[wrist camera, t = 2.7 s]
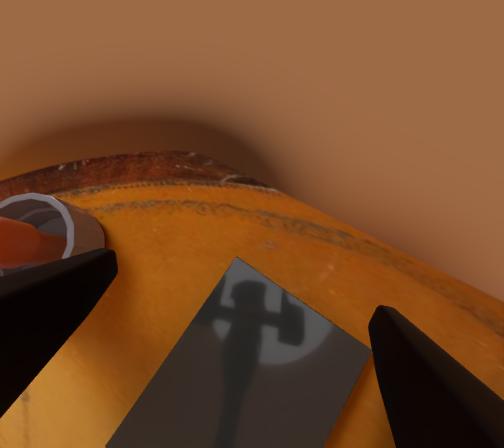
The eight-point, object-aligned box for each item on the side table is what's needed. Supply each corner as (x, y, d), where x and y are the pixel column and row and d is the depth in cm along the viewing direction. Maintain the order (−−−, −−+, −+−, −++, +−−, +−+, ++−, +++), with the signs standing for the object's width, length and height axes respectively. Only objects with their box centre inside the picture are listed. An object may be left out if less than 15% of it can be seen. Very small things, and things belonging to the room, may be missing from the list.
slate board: (252, 568, 17) (251, 590, 15) (113, 437, 19) (104, 447, 18) (366, 346, 20) (372, 350, 19) (237, 257, 22) (236, 256, 21)
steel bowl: (62, 319, 21) (11, 329, 17) (-1, 264, 23) (-62, 260, 18) (127, 240, 23) (96, 230, 19) (65, 193, 25) (23, 174, 20)
